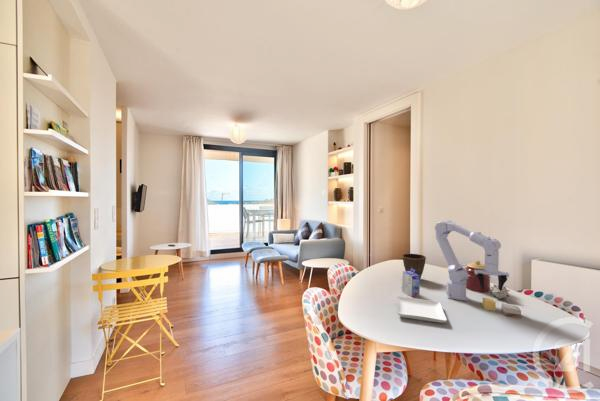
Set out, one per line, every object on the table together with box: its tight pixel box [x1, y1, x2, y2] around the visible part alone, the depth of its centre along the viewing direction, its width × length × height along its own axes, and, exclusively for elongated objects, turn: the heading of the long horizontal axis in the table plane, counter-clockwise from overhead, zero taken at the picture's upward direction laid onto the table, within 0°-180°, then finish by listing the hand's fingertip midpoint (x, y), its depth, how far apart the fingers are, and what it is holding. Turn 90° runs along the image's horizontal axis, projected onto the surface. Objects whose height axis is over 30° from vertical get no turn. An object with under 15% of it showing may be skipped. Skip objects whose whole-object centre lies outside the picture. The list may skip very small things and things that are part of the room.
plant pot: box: [401, 253, 427, 279], centre depth 179 cm, size 15×15×16 cm
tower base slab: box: [501, 307, 522, 319], centre depth 126 cm, size 6×6×2 cm
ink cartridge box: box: [401, 268, 421, 298], centre depth 153 cm, size 10×6×14 cm, turn 12°
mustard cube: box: [482, 297, 497, 312], centre depth 133 cm, size 4×4×4 cm
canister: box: [464, 260, 491, 293], centre depth 160 cm, size 13×13×18 cm
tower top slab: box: [501, 302, 522, 316], centre depth 126 cm, size 6×6×2 cm
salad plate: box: [396, 296, 448, 324], centre depth 128 cm, size 21×21×3 cm
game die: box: [489, 284, 510, 301], centre depth 145 cm, size 9×8×10 cm
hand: (491, 289), depth 133 cm, fingers open, 7 cm apart
